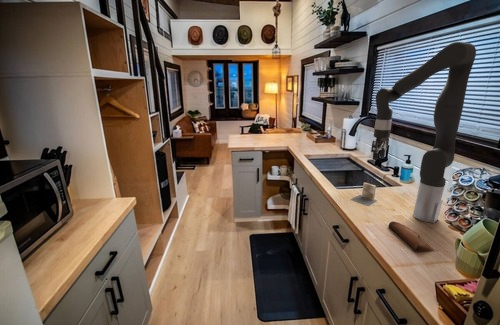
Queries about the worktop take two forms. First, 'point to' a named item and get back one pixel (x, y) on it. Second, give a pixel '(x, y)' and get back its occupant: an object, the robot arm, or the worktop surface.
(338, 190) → the worktop surface
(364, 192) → the tile
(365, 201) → the mat
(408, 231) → the sunglasses case
